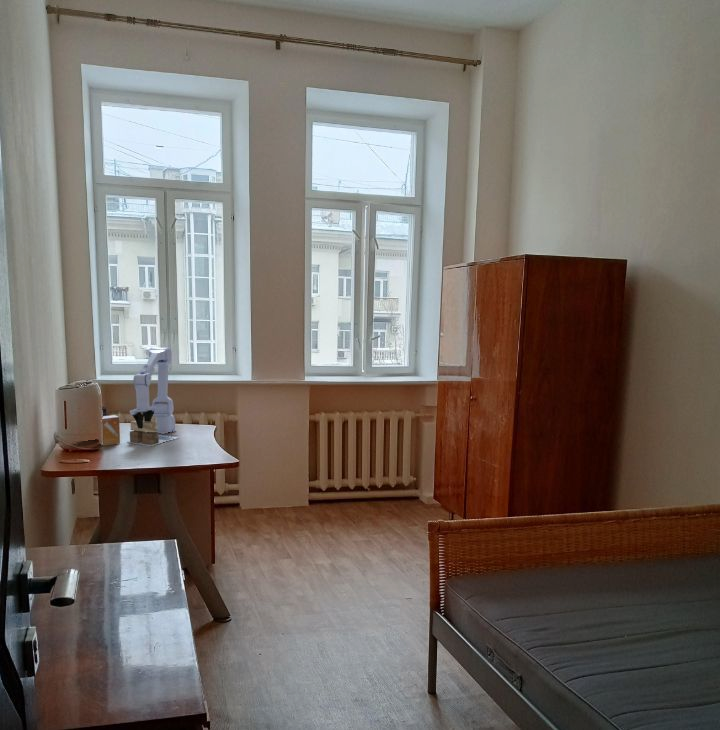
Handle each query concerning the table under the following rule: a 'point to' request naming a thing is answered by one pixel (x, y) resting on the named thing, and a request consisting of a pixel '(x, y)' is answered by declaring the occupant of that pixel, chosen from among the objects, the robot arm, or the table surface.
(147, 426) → the lintel
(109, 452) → the table surface
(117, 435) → the small box
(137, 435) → the cube
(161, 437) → the mat
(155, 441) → the cube
